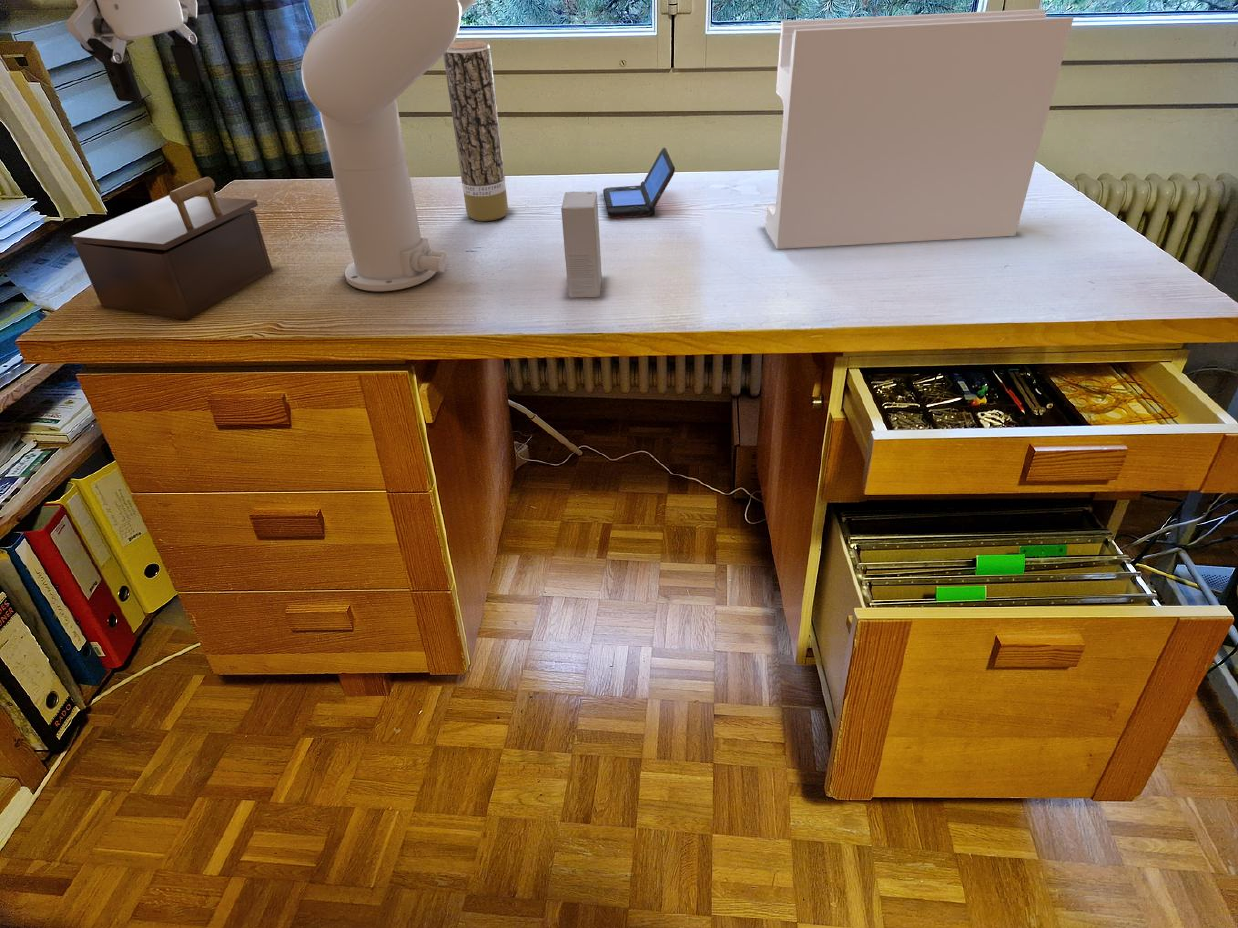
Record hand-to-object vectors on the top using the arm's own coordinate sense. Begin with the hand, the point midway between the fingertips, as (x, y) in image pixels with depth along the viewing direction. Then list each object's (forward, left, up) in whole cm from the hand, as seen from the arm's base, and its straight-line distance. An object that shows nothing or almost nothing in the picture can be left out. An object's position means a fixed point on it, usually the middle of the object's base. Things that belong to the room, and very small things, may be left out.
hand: (163, 90), depth 95 cm
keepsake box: (+7, 0, -26) cm, 27 cm away
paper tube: (-20, -37, -26) cm, 49 cm away
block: (-82, -46, -26) cm, 97 cm away
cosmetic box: (-46, -15, -26) cm, 55 cm away
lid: (+7, 0, -16) cm, 18 cm away
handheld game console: (-42, -48, -26) cm, 69 cm away
